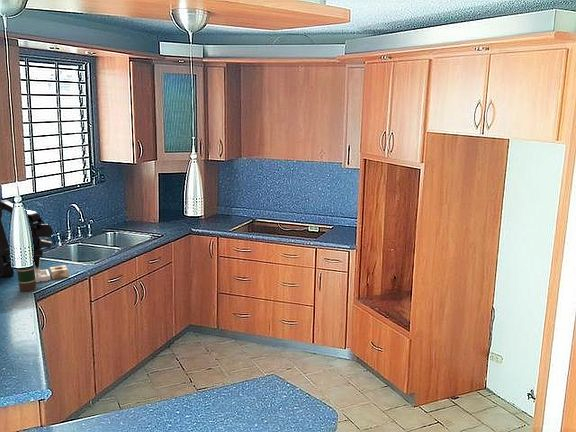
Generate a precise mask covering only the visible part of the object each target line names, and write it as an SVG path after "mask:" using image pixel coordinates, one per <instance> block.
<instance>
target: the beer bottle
mask: <svg viewBox="0 0 576 432" xmlns="http://www.w3.org/2000/svg"><path fill="white" fill-rule="evenodd" d="M16 273H17V281H18V289H19V291H20V292H22V293H28V292H32V290H33V291H35V290H36V289H37V282H36V280H35V271H34V266H33V267H31V268H25V269H17V268H16Z"/></svg>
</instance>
